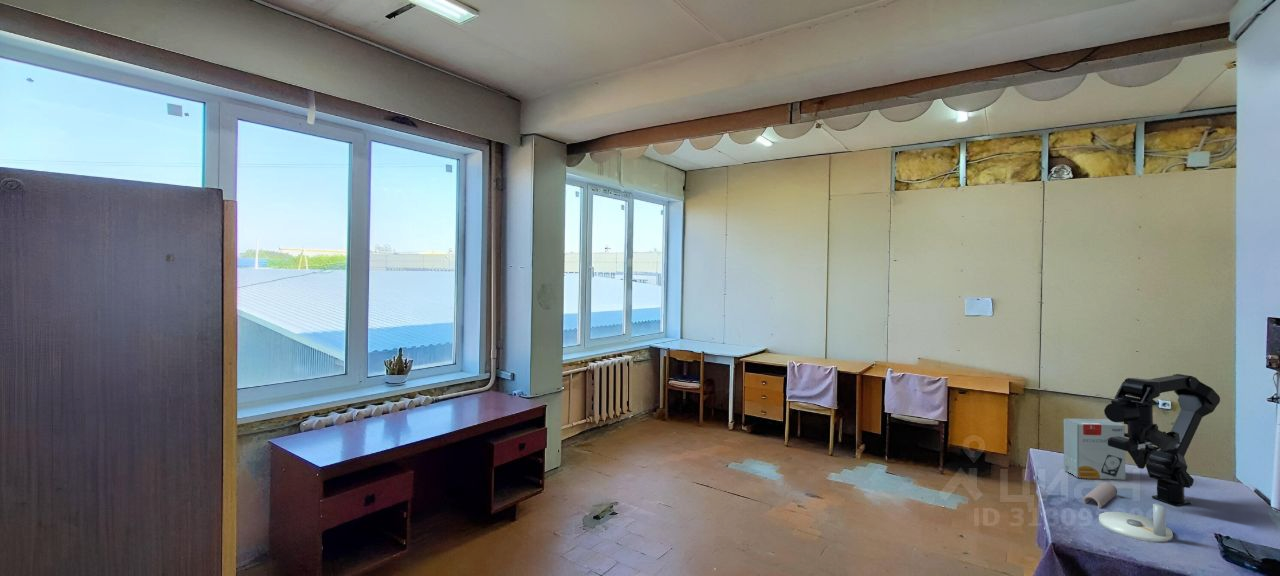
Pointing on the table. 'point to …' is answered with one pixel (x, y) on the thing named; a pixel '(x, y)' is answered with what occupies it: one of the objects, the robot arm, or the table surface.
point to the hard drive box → (1093, 449)
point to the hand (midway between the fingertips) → (1141, 468)
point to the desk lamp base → (1139, 525)
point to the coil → (1101, 494)
